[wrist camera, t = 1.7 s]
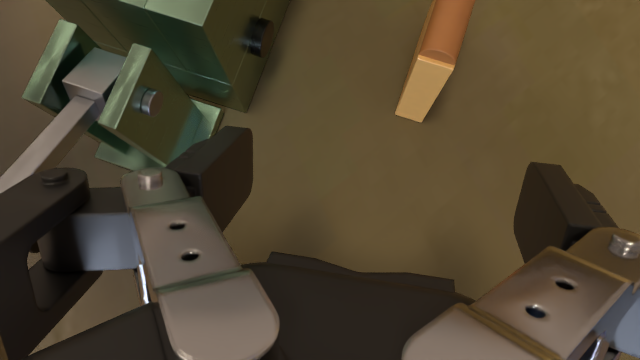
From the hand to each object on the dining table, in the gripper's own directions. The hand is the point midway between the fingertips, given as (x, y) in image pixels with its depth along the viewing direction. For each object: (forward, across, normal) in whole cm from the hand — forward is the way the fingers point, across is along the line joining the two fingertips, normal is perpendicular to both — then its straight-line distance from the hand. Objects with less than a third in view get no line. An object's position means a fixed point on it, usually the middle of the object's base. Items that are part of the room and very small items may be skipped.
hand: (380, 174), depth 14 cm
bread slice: (+22, -2, +1) cm, 22 cm away
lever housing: (+16, +16, +6) cm, 24 cm away
